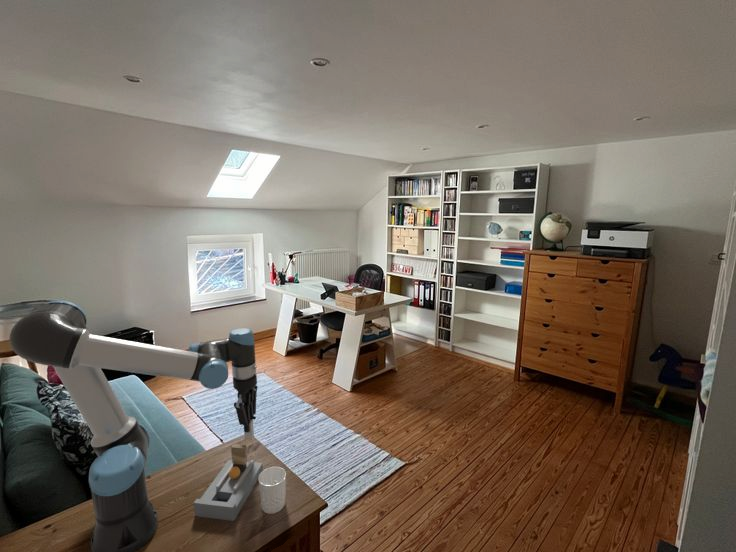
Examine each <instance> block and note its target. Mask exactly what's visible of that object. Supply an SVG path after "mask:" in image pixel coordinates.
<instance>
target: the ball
mask: <svg viewBox="0 0 736 552" xmlns="http://www.w3.org/2000/svg"><path fill="white" fill-rule="evenodd" d="M239 475H240V469H239V468H238V467H232V468H231V469H230V471H229V477H230V478H231V479H236V478H238V477H239Z"/></svg>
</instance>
